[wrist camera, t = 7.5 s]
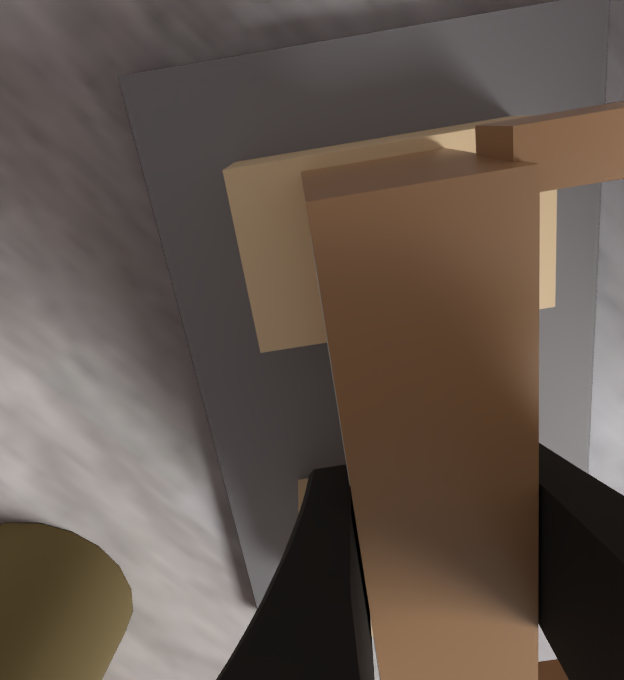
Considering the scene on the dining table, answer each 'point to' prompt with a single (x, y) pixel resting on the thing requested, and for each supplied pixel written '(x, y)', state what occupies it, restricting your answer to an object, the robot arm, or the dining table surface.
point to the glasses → (448, 381)
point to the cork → (58, 605)
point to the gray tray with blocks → (294, 232)
